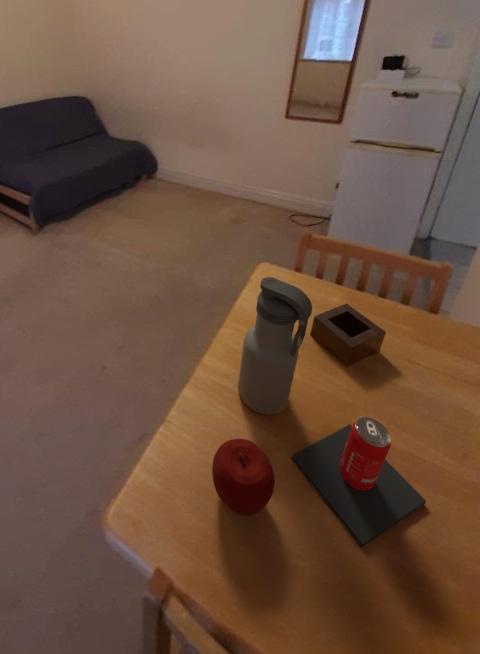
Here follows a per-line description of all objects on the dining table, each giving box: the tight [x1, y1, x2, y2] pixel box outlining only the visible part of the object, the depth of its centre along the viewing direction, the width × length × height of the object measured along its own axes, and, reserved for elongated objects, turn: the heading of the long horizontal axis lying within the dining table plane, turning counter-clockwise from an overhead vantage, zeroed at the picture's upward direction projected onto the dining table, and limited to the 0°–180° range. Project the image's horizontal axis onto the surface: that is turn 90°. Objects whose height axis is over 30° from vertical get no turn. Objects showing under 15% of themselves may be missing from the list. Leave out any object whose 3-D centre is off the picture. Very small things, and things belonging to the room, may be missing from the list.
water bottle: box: [237, 276, 313, 416], centre depth 76 cm, size 10×10×28 cm
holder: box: [309, 302, 387, 368], centre depth 92 cm, size 10×10×6 cm
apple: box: [211, 438, 276, 516], centre depth 64 cm, size 10×10×10 cm
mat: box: [291, 423, 427, 549], centre depth 68 cm, size 14×14×1 cm
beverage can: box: [340, 416, 392, 491], centre depth 65 cm, size 5×5×12 cm
